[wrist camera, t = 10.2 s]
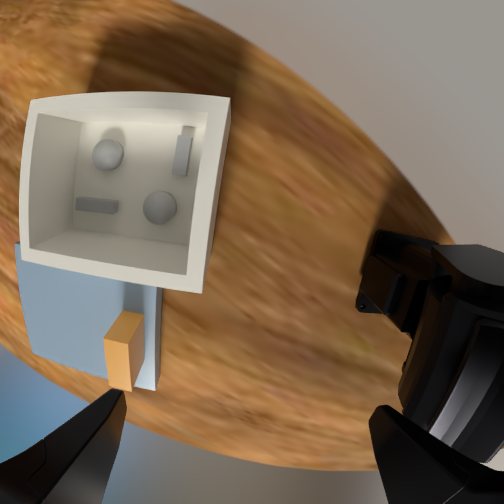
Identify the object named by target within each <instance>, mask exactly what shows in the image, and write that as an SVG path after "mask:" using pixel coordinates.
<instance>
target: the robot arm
mask: <svg viewBox="0 0 504 504" xmlns="http://www.w3.org/2000/svg"><path fill="white" fill-rule="evenodd" d="M382 234H383V238H382V239H380V236H381V235H382ZM359 288H360V292H359V295H358V298H357V302H356V309H357V310H358V311H359V312H363V313H380V314H383V315H386V316H387V317H388V318H389V319H390V320H391V321H392V322H393V323H394V324H395V326H396V327H397V328H398V329H399V330H400V331H401V332H405V333H406V334H407V335H408V336H409V337H410V338H411V339H412V343H411V346H410V350H409V353H408V356H407V359H406V361H405V362H404V363H403V366H402V373H403V374H402V377H401V380H400V382H399V388H398V396H399V399H400V402H401V404H402V407H403V410H402V413H403V415H402V414H401V413H399V412H398V411H396V410H395V409H393V408H392V407H391V406H389V405H380V406H378V407H377V408H376V409H375V411H374V413H373V414H372V416H371V417H370V419H369V429H370V434H371V439H372V445H373V450H374V455H375V459H376V462H377V465H378V469H379V472H380V476H381V479H382V482H383V486H384V489H385V492H386V497H387V500H388V504H504V471H497V470H494V469H491V468H489V467H487V466H485V465H483V464H480V463H488V462H489V461H490V460H491V459H492V458H493V457H494V456H495V455H496V454H497V452H498V451H499V450H500V449H501V448H502V447H503V445H504V253H503V252H500V251H497V250H494V249H491V248H488V247H485V246H482V245H478V244H477V245H476V244H474V245H439V244H438V243H437V242H435V241H431V240H427V239H423V238H418V237H414V236H410V235H405V234H401V233H396V232H392V231H387V230H382V229H381V230H378V231H377V232H376V234H375V237H374V241H373V245H372V249H371V253H370V256H369V257H368V259H367V263H366V266H365V270H364V273H363V277H362V280H361V284H360V287H359ZM362 304H364V305H363V306H362V307H360V306H361V305H362ZM126 411H127V406H126V400H125V395H124V392H123V391H122V390H118V389H114V388H112V389H110V390H109V391H107V392H106V393H105V394H103V395H102V396H101V397H99V398H98V399H97V400H95V401H94V402H93V403H91V404H90V405H89V406H87V407H86V408H84V409H83V410H82V411H81V412H79V413H78V414H76V415H75V416H74V417H72V418H71V419H70V420H68V421H67V422H65V423H64V424H63V425H61V426H60V427H59V428H57V429H56V430H54V431H53V432H52V433H50V434H49V435H47V436H46V437H45V438H44V440H43V439H42V440H40V441H39V442H37V443H36V444H35V445H33V446H32V447H30V448H28V449H27V450H25V451H24V452H22V453H20V454H18V455H16V456H14V457H13V458H10V459H8V460H6V461H4V462H2V463H0V504H101V502H102V499H103V496H104V493H105V489H106V486H107V482H108V480H109V477H110V473H111V470H112V467H113V464H114V461H115V458H116V455H117V452H118V449H119V445H120V440H121V434H122V429H123V425H124V420H125V416H126ZM478 462H480V463H478Z"/></svg>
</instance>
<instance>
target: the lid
mask: <svg viewBox="0 0 504 504" xmlns="http://www.w3.org/2000/svg"><path fill="white" fill-rule="evenodd" d="M15 255H16V266H17V275H18V283H19V291H20V297H21V303H22V309H23V314H24V319H25V324H26V328H27V333H28V337H29V341H30V345H31V348H32V352H33V353H34V354H36V355H39V356H41V357H44V358H46V359H49V360H51V361H54V362H57V363H59V364H62V365H65V366H68V367H70V368H73V369H76V370H79V371H82V372H85V373H89V374H92V375H95V376H98V377H102V378H105V379H109V385H110V386H112V387H115V388H119V389H123V390H127V391H131V392H132V390H133V388H134V386H136V387H140V388H145V389H149V390H154V391H155V390H156V387H157V383H158V380H159V377H160V332H161V309H162V292H163V288H162V287H155V286H149V285H143V284H137V283H132V282H126V281H120V280H115V279H109V278H104V277H99V276H94V275H89V274H83V273H79V272H74V271H69V270H64V269H59V268H55V267H50V266H46V265H41V264H37V263H32V262H28V261H24V260H22V259H21V246H20V241H19V242H17V243H15Z"/></svg>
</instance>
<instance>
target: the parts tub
mask: <svg viewBox="0 0 504 504" xmlns="http://www.w3.org/2000/svg"><path fill="white" fill-rule="evenodd" d="M230 125H231V105H230V98H227V97H219V96H210V95H200V94H188V93H172V92H100V93H85V94H73V95H64V96H55V97H48V98H41V99H35V100H31V103H30V108H29V112H28V118H27V123H26V129H25V136H24V143H23V151H22V161H21V173H20V192H19V227H20V246H21V259H22V260H24V261H28V262H32V263H37V264H41V265H46V266H50V267H55V268H59V269H64V270H69V271H74V272H79V273H83V274H89V275H94V276H99V277H104V278H109V279H115V280H120V281H126V282H132V283H137V284H143V285H149V286H155V287H162V288H168V289H174V290H181V291H188V292H194V293H201V294H202V290H203V286H204V282H205V277H206V273H207V269H208V265H209V261H210V257H211V251H212V243H213V235H214V228H215V220H216V213H217V206H218V199H219V193H220V186H221V180H222V173H223V167H224V161H225V154H226V148H227V142H228V137H229V131H230Z"/></svg>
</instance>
